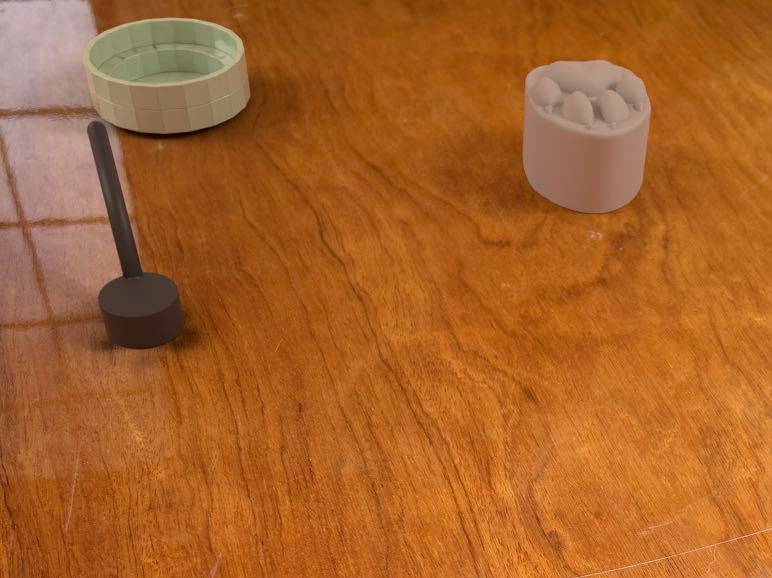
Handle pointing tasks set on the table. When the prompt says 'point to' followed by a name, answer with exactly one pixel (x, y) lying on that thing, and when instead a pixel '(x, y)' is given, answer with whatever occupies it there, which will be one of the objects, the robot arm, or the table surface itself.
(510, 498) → the table surface
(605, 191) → the lumpy-topped squat cylinder
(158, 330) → the ladle
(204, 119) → the bowl
